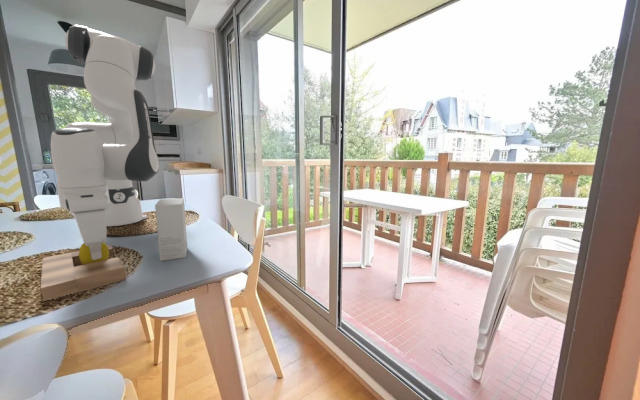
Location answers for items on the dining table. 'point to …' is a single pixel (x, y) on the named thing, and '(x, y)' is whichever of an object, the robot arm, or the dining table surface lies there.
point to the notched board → (78, 274)
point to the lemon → (86, 255)
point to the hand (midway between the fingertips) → (94, 252)
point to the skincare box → (171, 228)
